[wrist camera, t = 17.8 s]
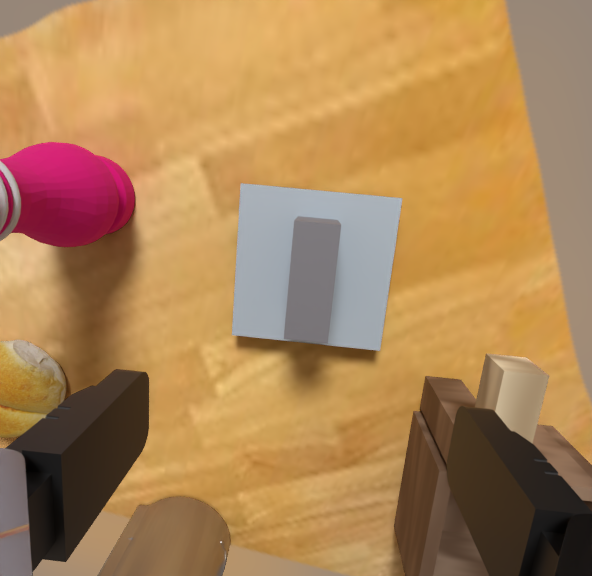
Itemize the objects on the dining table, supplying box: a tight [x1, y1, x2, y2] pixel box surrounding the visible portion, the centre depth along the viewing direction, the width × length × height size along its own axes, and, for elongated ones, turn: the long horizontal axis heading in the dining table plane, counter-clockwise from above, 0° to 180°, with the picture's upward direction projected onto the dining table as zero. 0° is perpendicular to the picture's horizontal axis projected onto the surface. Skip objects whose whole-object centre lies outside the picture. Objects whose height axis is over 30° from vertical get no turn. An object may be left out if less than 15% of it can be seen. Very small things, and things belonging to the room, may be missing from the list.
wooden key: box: [475, 354, 549, 443], centre depth 24 cm, size 2×6×2 cm, turn 175°
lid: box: [232, 183, 402, 351], centre depth 30 cm, size 12×12×7 cm
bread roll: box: [0, 340, 66, 438], centre depth 36 cm, size 8×9×4 cm
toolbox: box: [394, 376, 592, 576], centre depth 32 cm, size 12×15×9 cm
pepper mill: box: [0, 142, 135, 247], centre depth 24 cm, size 7×7×20 cm
